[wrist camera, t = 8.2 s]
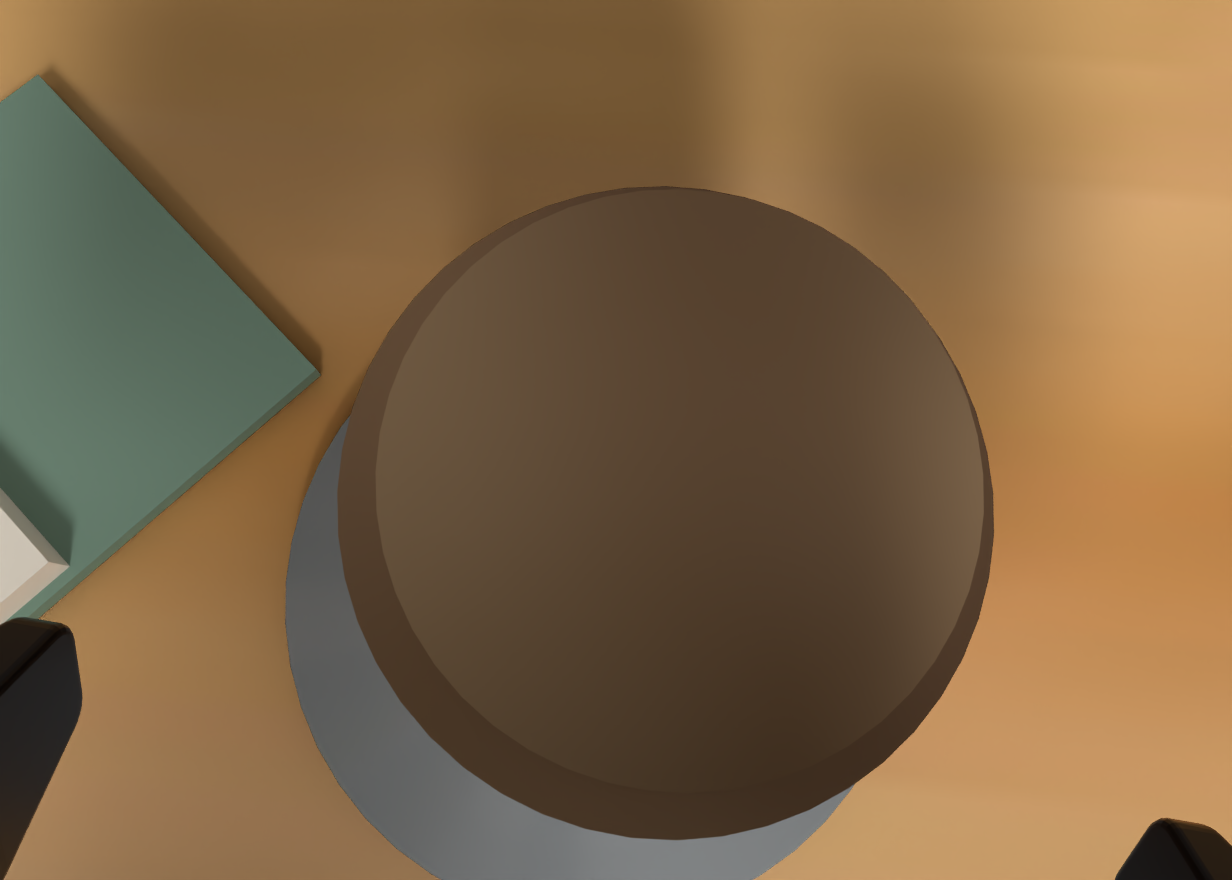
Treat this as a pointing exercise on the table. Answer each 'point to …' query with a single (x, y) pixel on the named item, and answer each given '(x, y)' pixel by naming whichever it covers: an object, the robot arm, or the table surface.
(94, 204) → the mat
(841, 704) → the pepper mill
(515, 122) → the table surface
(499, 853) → the trivet
